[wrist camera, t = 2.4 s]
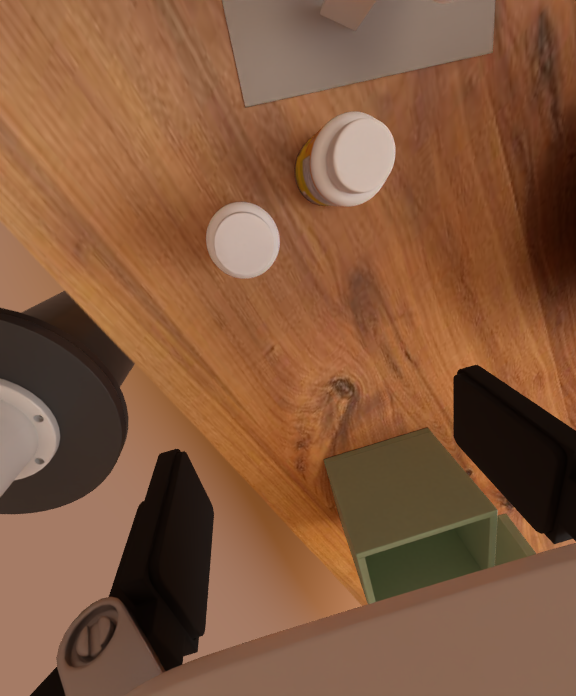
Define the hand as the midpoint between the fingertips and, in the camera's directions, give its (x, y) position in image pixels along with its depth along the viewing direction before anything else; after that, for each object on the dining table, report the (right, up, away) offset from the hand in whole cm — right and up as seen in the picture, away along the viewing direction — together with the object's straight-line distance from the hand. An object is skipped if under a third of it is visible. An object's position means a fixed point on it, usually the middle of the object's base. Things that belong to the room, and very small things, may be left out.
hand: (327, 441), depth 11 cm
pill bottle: (-6, +14, +19) cm, 24 cm away
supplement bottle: (+2, +19, +18) cm, 26 cm away
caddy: (+12, -15, +34) cm, 39 cm away
